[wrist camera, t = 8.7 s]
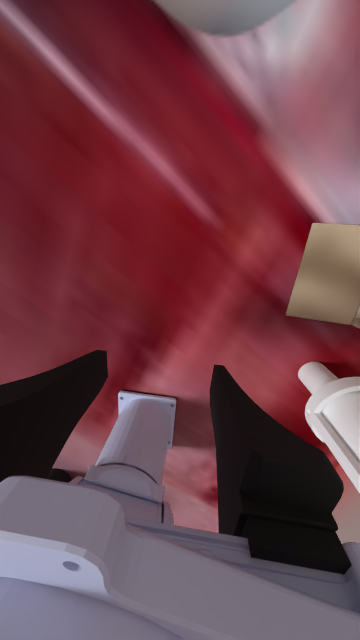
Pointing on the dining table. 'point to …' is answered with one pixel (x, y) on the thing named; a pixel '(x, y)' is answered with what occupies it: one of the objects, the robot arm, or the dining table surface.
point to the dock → (329, 276)
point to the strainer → (335, 414)
